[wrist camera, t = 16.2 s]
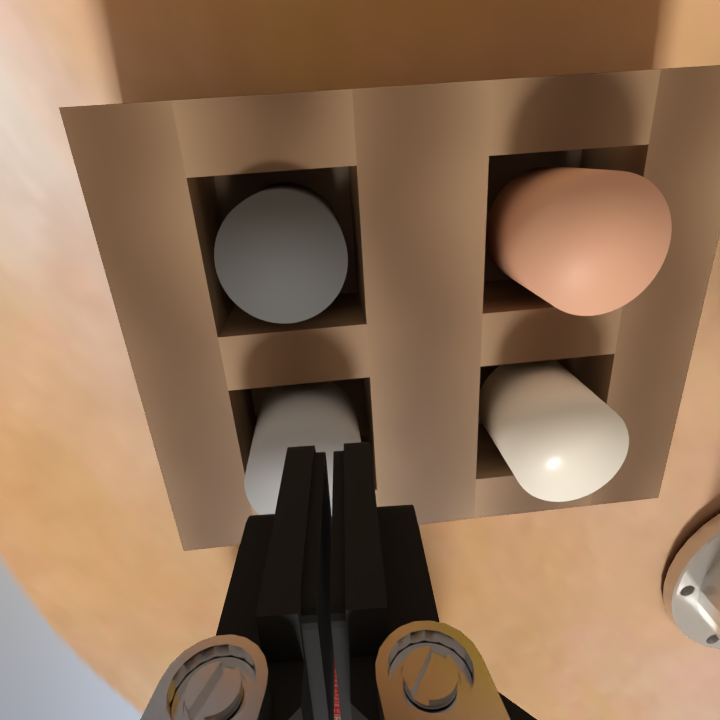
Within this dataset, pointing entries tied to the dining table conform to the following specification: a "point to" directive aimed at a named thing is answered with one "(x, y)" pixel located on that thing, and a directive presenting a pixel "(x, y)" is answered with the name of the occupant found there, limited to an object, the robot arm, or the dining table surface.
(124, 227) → the wooden egg tray
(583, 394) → the cream white egg
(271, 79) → the dining table surface
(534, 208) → the brown egg
